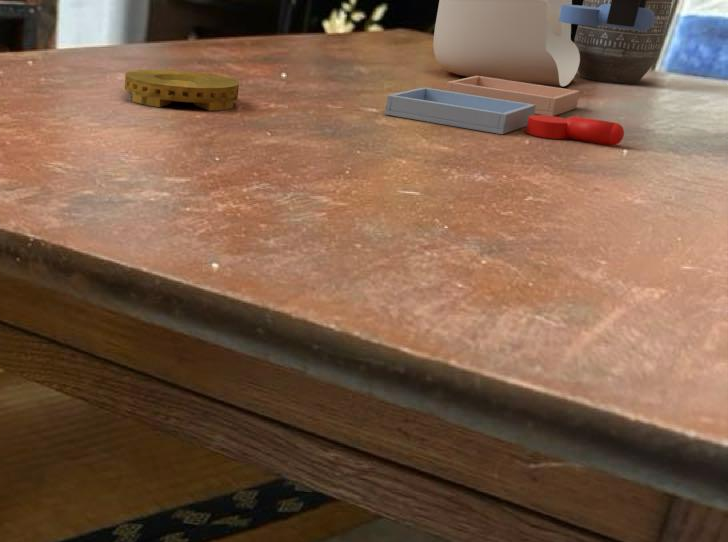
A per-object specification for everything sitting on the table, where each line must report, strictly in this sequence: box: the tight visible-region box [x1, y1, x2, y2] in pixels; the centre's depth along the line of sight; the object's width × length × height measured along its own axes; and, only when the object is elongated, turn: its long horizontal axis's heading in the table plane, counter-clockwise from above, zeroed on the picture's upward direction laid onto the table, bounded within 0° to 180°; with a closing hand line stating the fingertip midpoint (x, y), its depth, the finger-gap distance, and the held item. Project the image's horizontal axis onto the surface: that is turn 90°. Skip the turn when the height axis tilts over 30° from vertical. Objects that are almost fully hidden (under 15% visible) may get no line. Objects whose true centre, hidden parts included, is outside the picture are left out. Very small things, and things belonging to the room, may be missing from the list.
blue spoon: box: [559, 4, 655, 31], centre depth 117 cm, size 10×4×2 cm, turn 57°
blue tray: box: [384, 87, 536, 135], centre depth 120 cm, size 13×10×2 cm
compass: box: [124, 69, 240, 111], centre depth 117 cm, size 12×12×2 cm
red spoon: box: [525, 114, 625, 146], centre depth 114 cm, size 10×4×2 cm, turn 58°
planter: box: [573, 0, 674, 85], centre depth 162 cm, size 12×12×13 cm
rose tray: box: [445, 76, 581, 117], centre depth 133 cm, size 13×10×2 cm
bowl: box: [432, 0, 580, 87], centre depth 153 cm, size 20×19×12 cm
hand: (623, 24), depth 117 cm, fingers closed on blue spoon, 2 cm apart
